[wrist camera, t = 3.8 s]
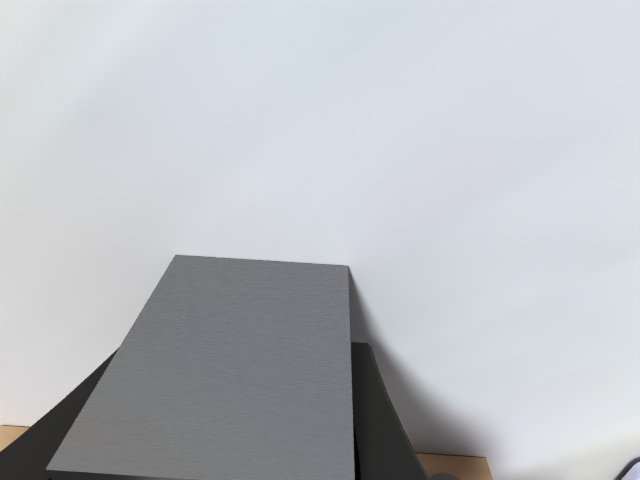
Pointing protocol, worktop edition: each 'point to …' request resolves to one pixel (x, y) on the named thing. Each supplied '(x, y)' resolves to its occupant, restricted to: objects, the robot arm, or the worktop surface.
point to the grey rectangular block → (225, 380)
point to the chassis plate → (443, 470)
